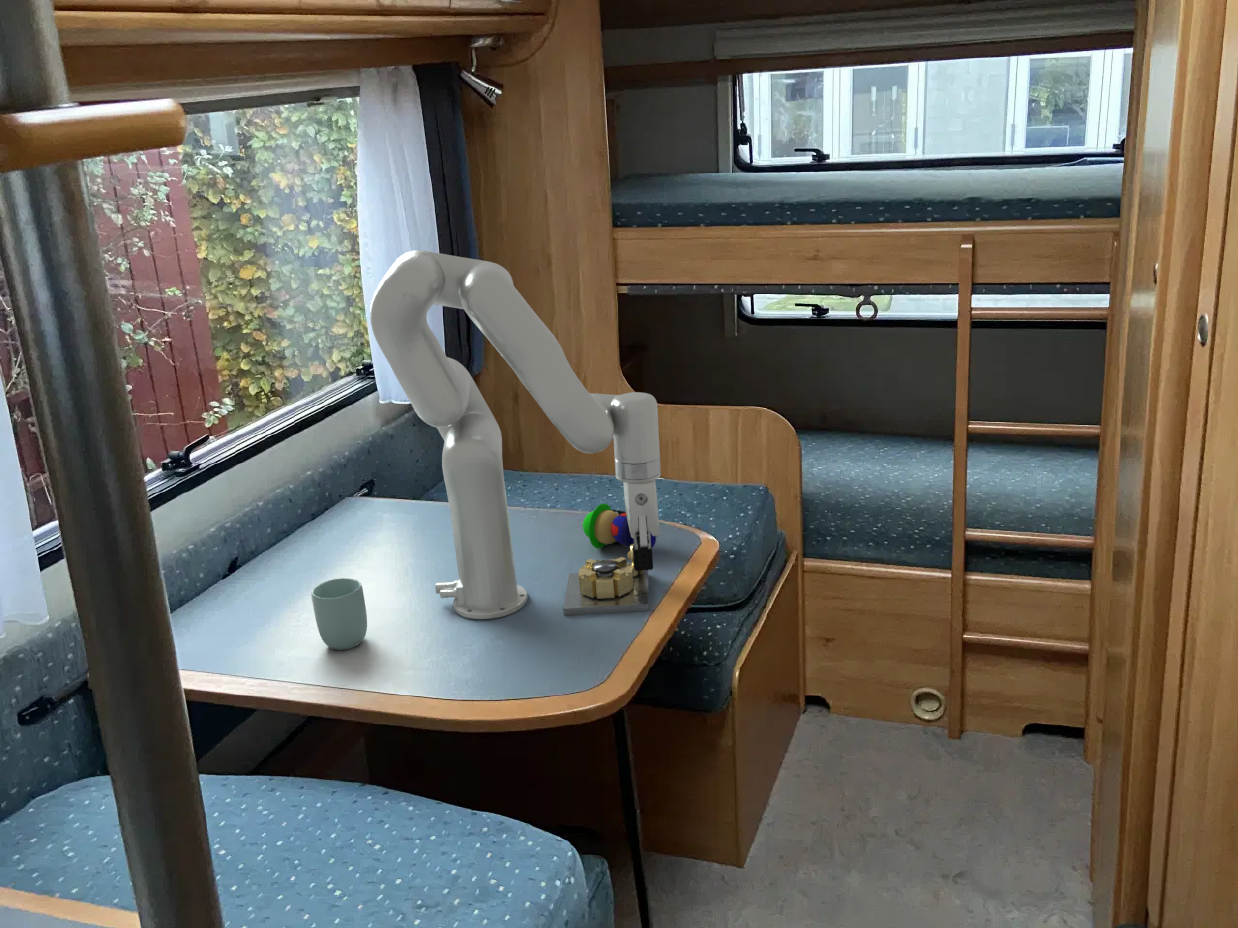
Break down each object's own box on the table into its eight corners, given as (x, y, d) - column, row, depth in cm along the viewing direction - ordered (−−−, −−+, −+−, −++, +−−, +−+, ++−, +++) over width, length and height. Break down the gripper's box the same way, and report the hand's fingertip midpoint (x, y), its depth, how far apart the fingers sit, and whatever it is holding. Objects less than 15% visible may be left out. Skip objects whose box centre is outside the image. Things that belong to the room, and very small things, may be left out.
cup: (346, 659, 177) (336, 602, 173) (311, 650, 181) (300, 593, 177) (380, 638, 183) (371, 582, 180) (345, 629, 187) (336, 574, 184)
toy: (673, 508, 210) (604, 498, 217) (653, 495, 202) (583, 484, 210) (657, 569, 207) (588, 557, 215) (637, 558, 200) (566, 545, 207)
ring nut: (605, 603, 185) (602, 575, 184) (569, 588, 192) (567, 561, 190) (661, 576, 194) (659, 549, 192) (625, 563, 200) (623, 537, 198)
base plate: (563, 615, 186) (560, 584, 184) (570, 578, 199) (567, 549, 198) (648, 610, 185) (645, 579, 183) (648, 573, 199) (646, 544, 197)
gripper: (664, 480, 180) (669, 585, 185) (656, 451, 194) (661, 549, 200) (617, 484, 179) (624, 588, 185) (612, 455, 193) (619, 553, 199)
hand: (643, 568), depth 192 cm, fingers closed
